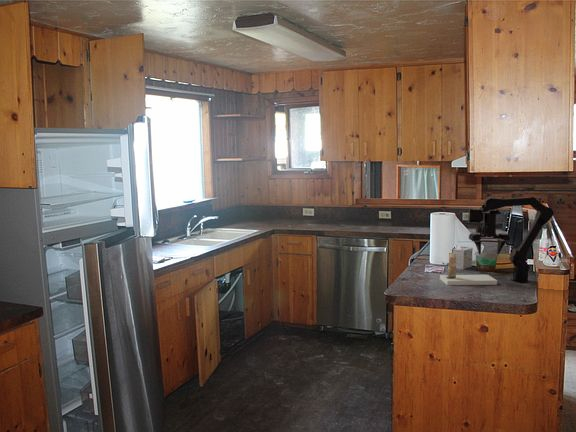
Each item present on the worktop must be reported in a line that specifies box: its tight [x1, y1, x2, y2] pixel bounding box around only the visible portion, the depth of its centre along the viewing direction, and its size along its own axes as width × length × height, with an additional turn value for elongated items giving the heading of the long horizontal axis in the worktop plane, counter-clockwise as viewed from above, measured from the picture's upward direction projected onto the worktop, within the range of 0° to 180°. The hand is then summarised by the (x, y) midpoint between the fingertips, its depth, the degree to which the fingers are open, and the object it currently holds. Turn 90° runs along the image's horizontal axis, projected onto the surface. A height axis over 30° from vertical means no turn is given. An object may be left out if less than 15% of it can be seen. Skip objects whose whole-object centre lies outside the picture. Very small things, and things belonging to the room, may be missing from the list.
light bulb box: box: [453, 245, 474, 270], centre depth 291 cm, size 11×7×11 cm, turn 136°
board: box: [439, 274, 498, 286], centre depth 260 cm, size 24×12×2 cm, turn 91°
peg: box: [447, 253, 457, 279], centre depth 259 cm, size 4×4×14 cm
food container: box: [473, 251, 500, 273], centre depth 282 cm, size 12×6×10 cm, turn 73°
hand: (488, 254), depth 262 cm, fingers open, 9 cm apart
